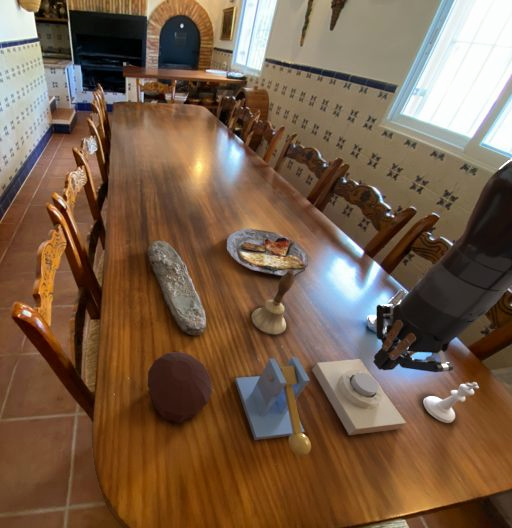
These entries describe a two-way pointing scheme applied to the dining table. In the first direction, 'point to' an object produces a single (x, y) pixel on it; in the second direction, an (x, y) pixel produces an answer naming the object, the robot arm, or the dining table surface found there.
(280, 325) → the hand bell
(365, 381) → the grey push button
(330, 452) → the dining table surface
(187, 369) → the brown rounded faceted lump
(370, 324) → the screw
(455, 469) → the dining table surface
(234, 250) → the food plate
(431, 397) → the chess piece
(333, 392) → the dial knob panel
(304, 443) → the flush lever
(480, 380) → the dining table surface
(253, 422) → the lever bracket
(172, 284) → the long grey stone
